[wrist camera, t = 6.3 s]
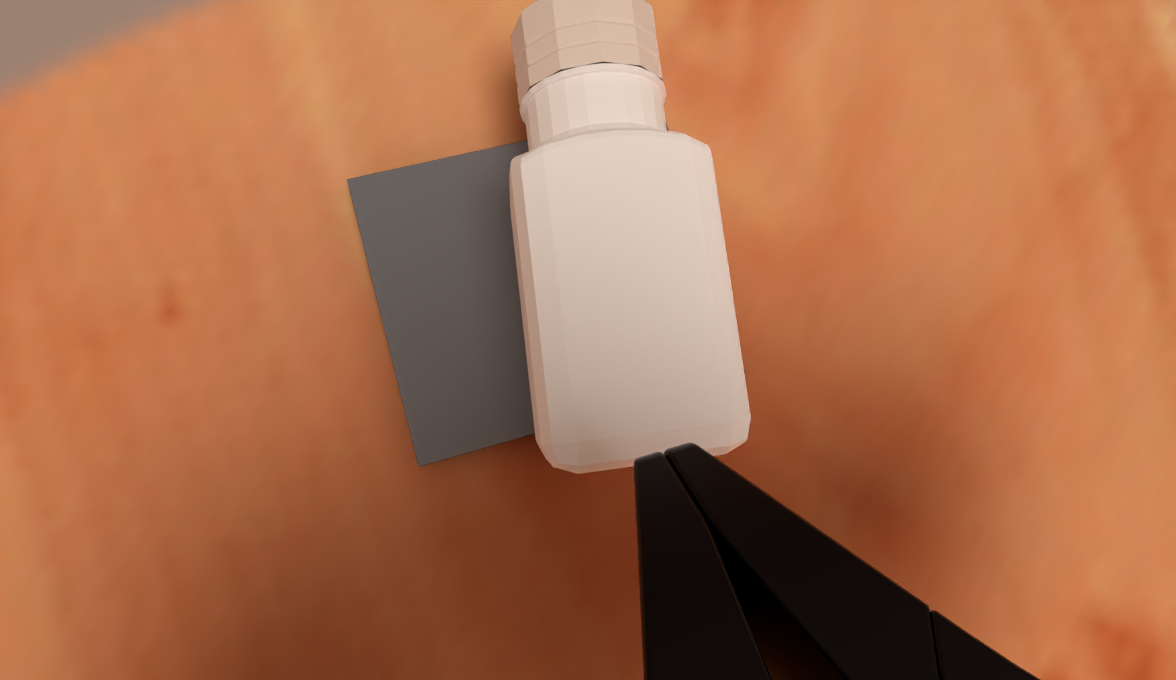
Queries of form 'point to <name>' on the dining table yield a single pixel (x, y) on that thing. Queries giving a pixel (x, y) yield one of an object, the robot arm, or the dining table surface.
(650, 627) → the robot arm
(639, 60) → the pepper shaker
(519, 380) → the coaster
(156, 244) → the dining table surface
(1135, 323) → the dining table surface
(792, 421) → the dining table surface
